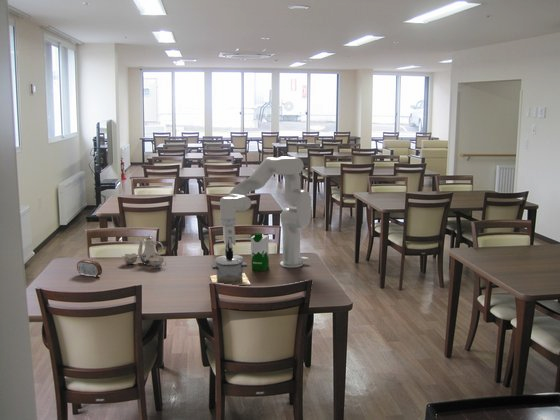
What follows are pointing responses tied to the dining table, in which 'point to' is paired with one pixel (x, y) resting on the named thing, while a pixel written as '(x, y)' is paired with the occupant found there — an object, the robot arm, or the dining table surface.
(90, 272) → the tin
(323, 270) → the dining table surface
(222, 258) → the lid
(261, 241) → the soya milk
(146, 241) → the chinaware
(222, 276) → the pot
